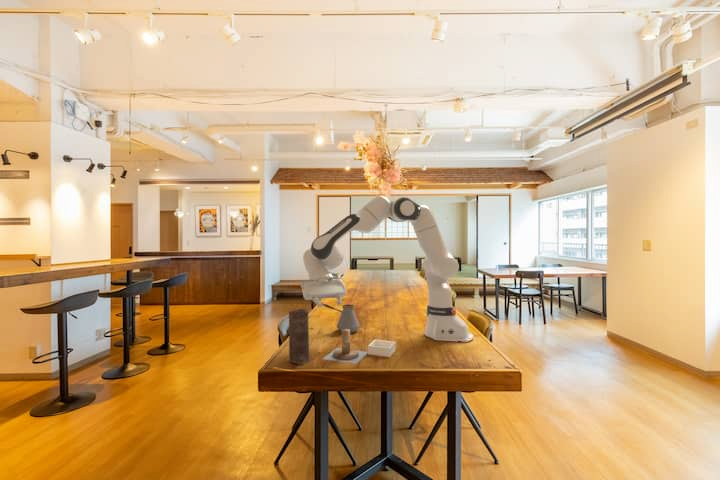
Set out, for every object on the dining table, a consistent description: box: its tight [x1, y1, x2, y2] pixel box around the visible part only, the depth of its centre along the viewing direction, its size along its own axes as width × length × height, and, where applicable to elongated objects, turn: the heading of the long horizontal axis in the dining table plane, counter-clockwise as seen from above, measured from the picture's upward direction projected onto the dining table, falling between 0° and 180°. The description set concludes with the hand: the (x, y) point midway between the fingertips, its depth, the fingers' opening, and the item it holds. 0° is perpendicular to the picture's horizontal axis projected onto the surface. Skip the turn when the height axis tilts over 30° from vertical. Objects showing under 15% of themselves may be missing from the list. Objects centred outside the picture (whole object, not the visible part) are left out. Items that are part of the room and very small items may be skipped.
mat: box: [322, 347, 368, 365], centre depth 135 cm, size 14×14×1 cm
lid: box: [333, 329, 359, 360], centre depth 135 cm, size 10×10×10 cm
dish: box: [367, 338, 397, 358], centre depth 139 cm, size 9×9×4 cm
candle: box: [288, 308, 310, 365], centre depth 129 cm, size 8×7×20 cm
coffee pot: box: [322, 302, 360, 334], centre depth 171 cm, size 21×12×15 cm, turn 97°
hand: (330, 305), depth 145 cm, fingers open, 8 cm apart
